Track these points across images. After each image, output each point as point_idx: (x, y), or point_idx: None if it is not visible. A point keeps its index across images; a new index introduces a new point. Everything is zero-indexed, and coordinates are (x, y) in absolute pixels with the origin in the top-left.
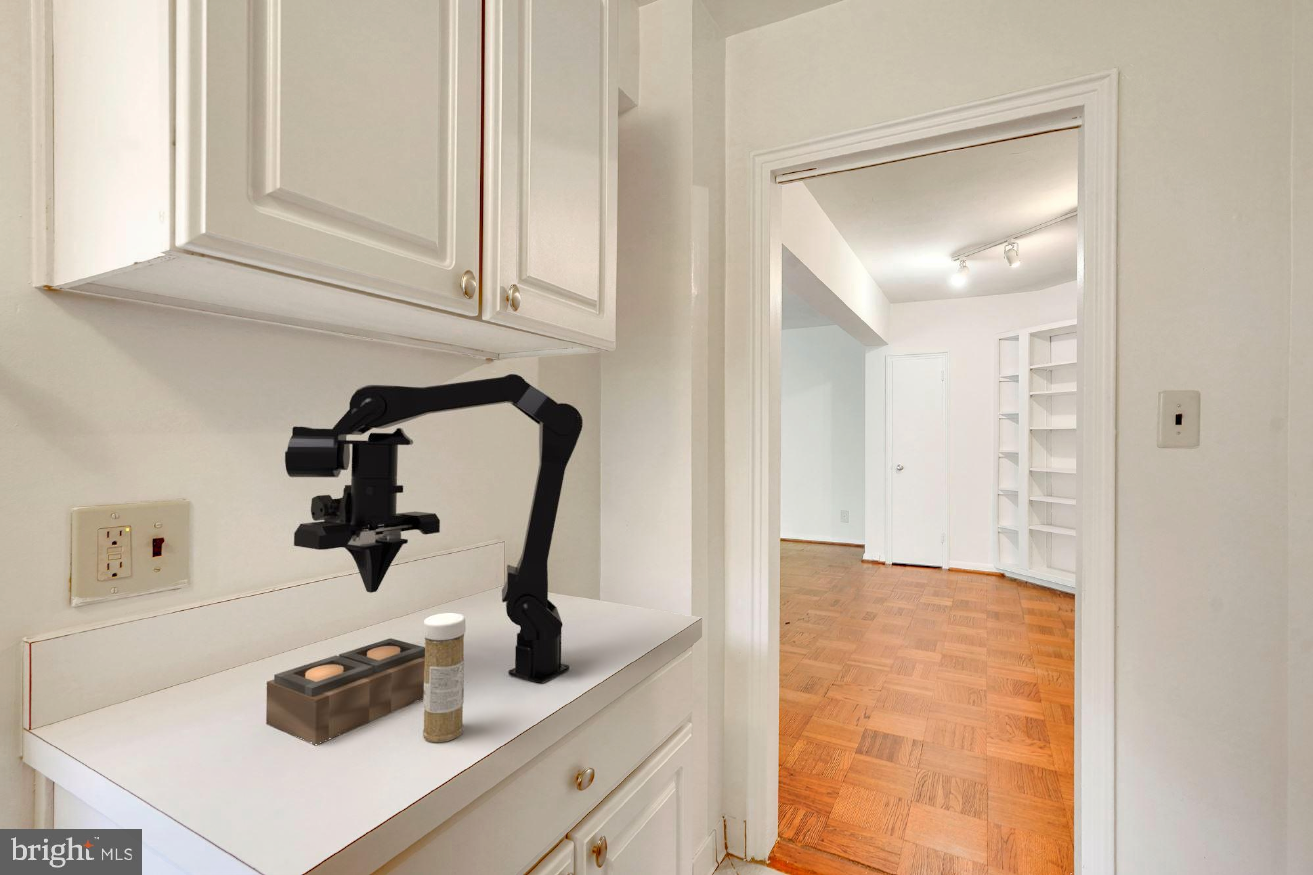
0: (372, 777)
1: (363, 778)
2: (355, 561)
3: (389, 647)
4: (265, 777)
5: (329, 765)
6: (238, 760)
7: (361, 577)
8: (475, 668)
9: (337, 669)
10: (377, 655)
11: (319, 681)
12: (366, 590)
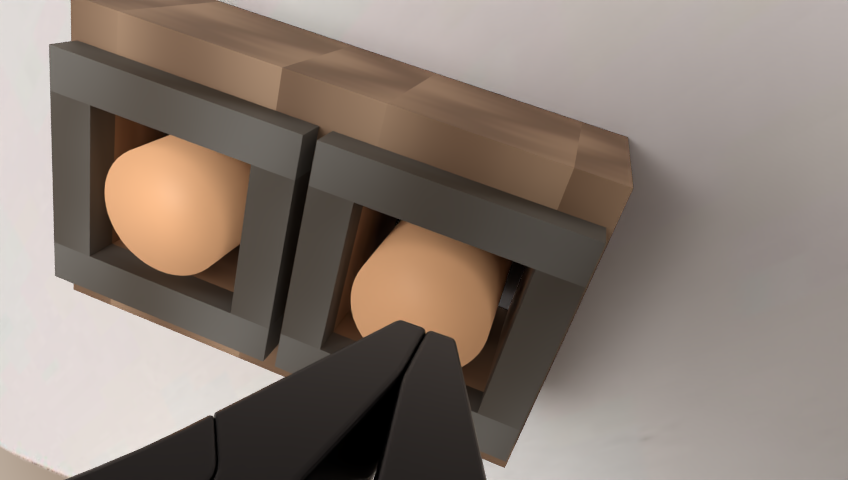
0: (139, 415)
1: (129, 402)
2: (93, 476)
3: (469, 311)
4: (42, 223)
5: (128, 317)
6: (44, 102)
7: (301, 369)
8: (796, 426)
9: (191, 254)
10: (363, 315)
11: (95, 265)
12: (394, 324)
